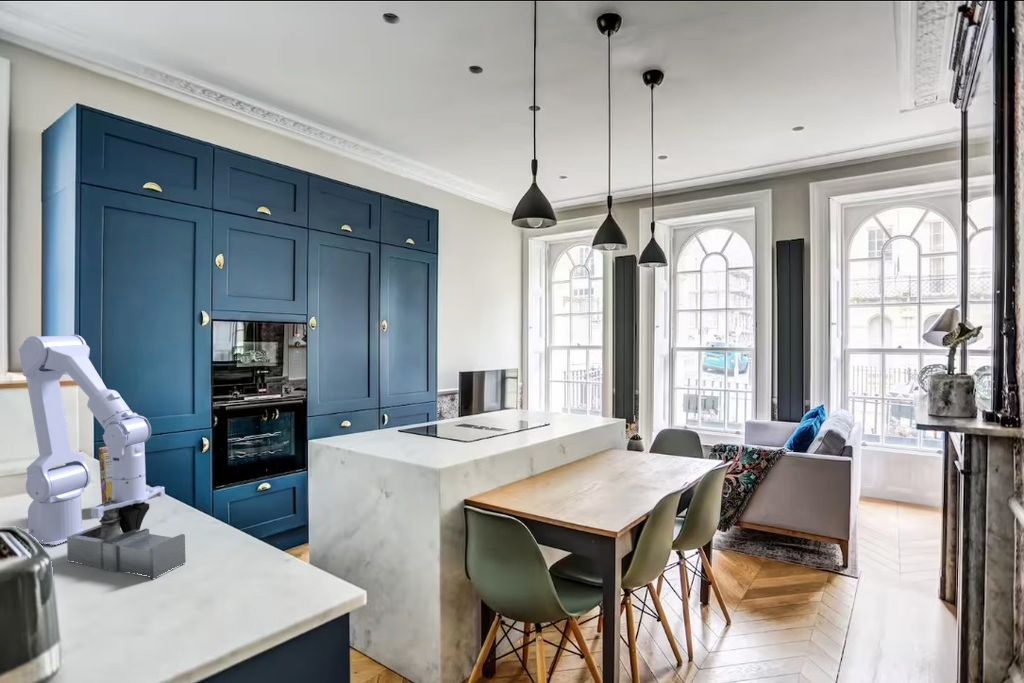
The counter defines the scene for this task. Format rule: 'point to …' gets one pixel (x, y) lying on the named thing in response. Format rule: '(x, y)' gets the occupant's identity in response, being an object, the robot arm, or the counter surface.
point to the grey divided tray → (127, 551)
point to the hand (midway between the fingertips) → (131, 539)
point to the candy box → (105, 474)
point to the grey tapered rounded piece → (110, 522)
